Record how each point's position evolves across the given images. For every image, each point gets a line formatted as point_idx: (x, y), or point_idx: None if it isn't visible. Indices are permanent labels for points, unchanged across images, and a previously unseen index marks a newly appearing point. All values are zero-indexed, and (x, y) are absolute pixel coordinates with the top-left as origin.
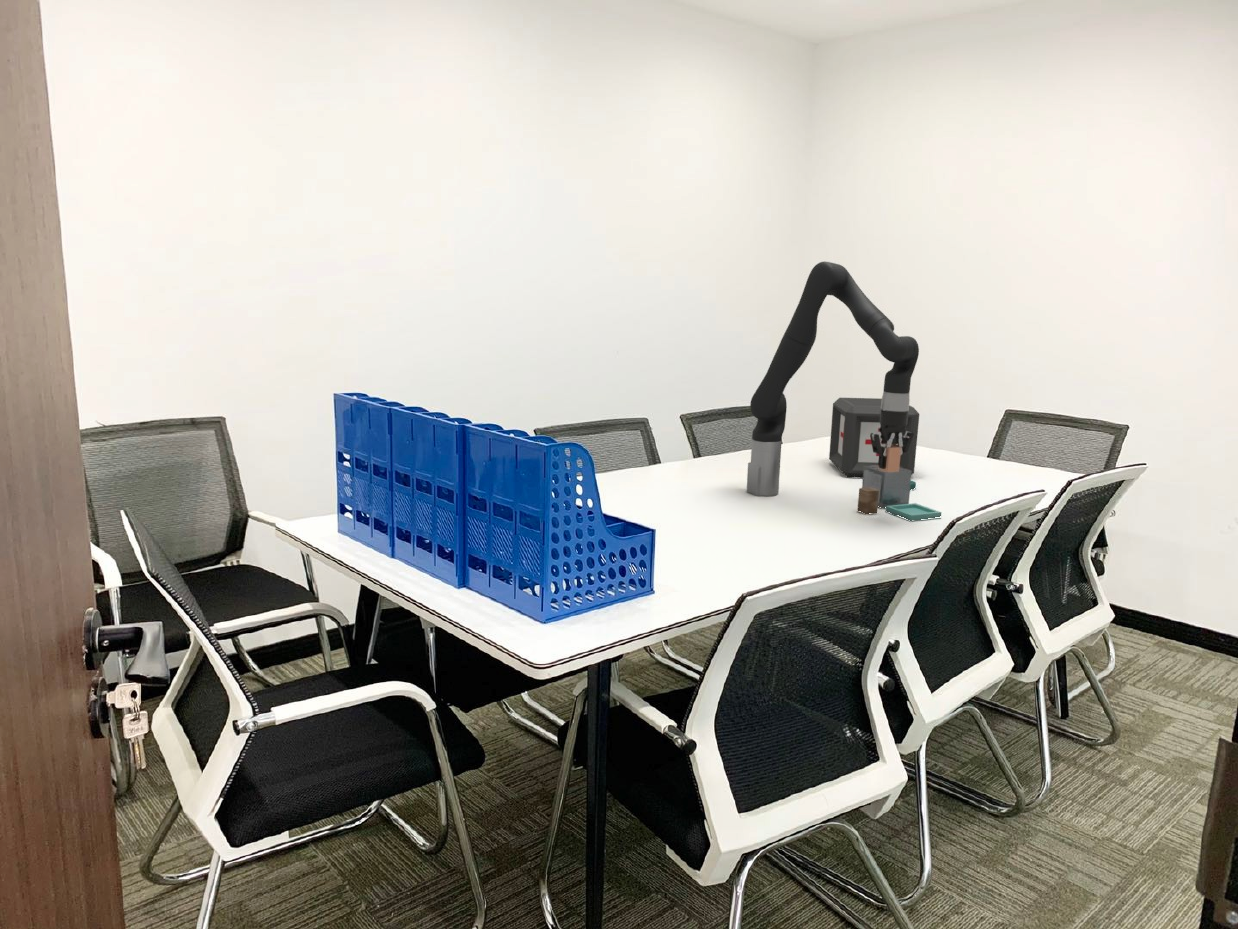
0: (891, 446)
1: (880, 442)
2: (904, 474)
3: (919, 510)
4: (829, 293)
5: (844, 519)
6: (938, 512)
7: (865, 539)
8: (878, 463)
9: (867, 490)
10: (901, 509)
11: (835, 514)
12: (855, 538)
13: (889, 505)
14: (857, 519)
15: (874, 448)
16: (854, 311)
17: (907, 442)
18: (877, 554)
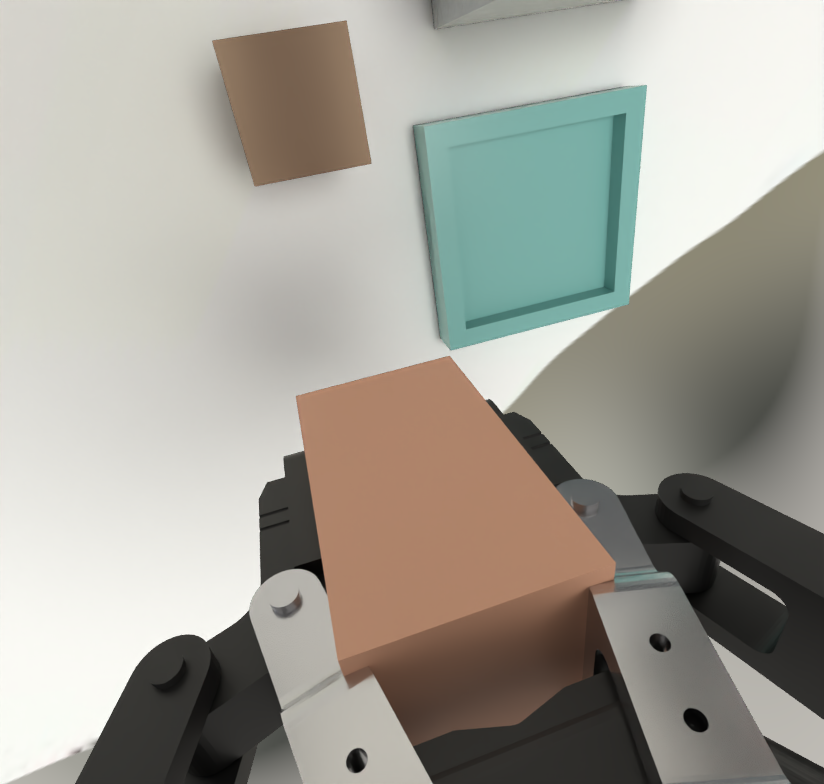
0: (487, 701)
1: (307, 780)
2: None
3: (591, 187)
4: None
5: (60, 263)
6: (613, 305)
7: (93, 580)
8: (260, 512)
9: (266, 147)
10: (511, 146)
11: (12, 124)
12: (44, 573)
13: (500, 17)
14: (155, 272)
15: (137, 748)
16: None
17: (787, 692)
18: (90, 711)
